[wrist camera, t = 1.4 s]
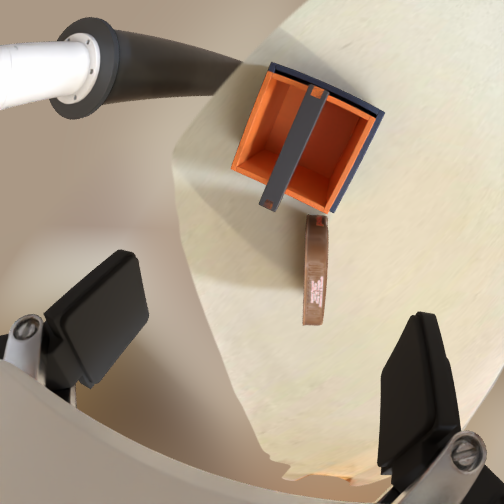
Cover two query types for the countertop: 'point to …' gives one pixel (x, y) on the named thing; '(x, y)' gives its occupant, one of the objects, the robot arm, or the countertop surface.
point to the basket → (300, 142)
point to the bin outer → (345, 98)
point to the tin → (315, 269)
